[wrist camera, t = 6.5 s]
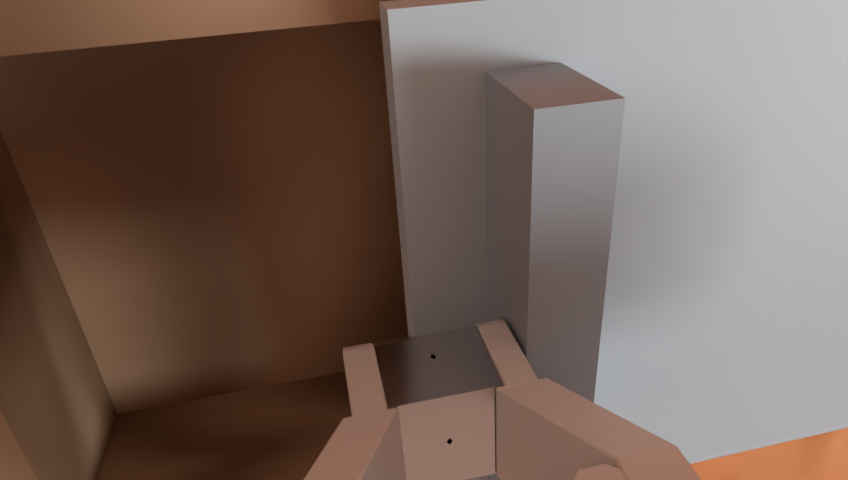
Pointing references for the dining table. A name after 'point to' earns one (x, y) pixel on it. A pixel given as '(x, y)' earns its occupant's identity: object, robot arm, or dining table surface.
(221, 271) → the box
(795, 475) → the dining table surface
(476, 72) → the lid
